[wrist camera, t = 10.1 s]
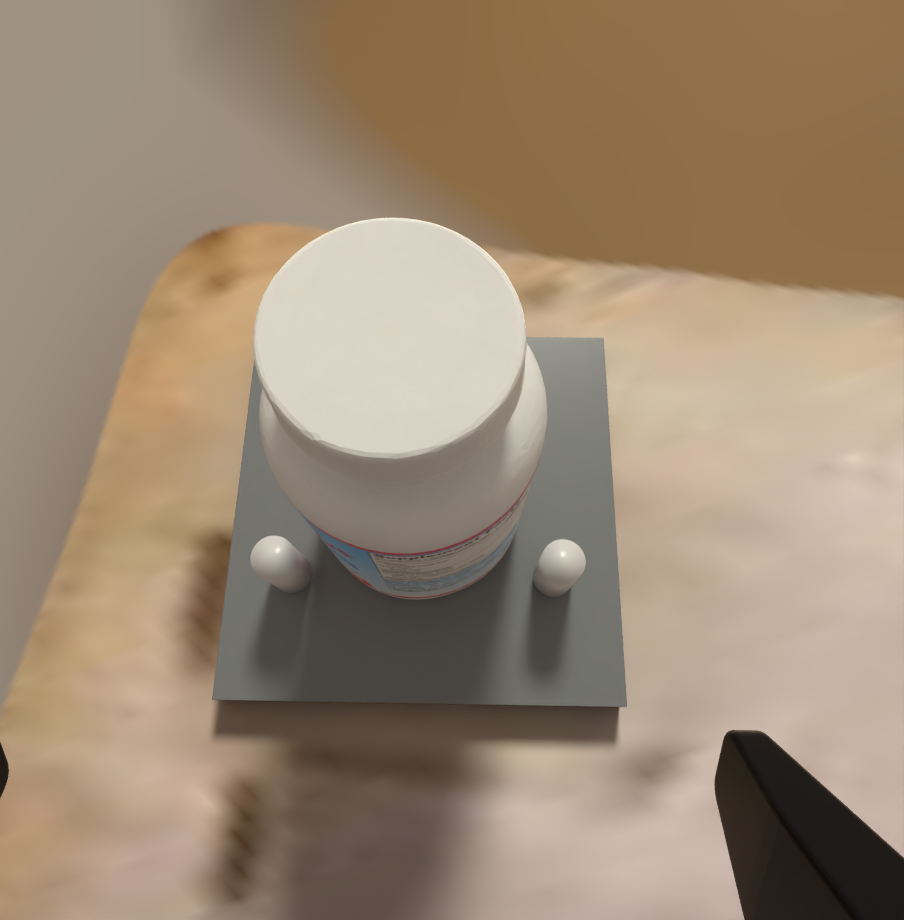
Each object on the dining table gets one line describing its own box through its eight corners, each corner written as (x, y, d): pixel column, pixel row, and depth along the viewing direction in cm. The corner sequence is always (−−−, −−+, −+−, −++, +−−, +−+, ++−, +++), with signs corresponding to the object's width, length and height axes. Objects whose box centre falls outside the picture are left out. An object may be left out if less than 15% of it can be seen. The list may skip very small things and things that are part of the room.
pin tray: (619, 707, 21) (648, 706, 18) (223, 700, 21) (179, 698, 18) (598, 351, 25) (618, 297, 22) (264, 349, 25) (235, 295, 22)
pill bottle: (311, 443, 23) (183, 218, 12) (491, 401, 23) (516, 149, 13) (346, 626, 21) (229, 545, 10) (542, 578, 21) (620, 451, 11)
